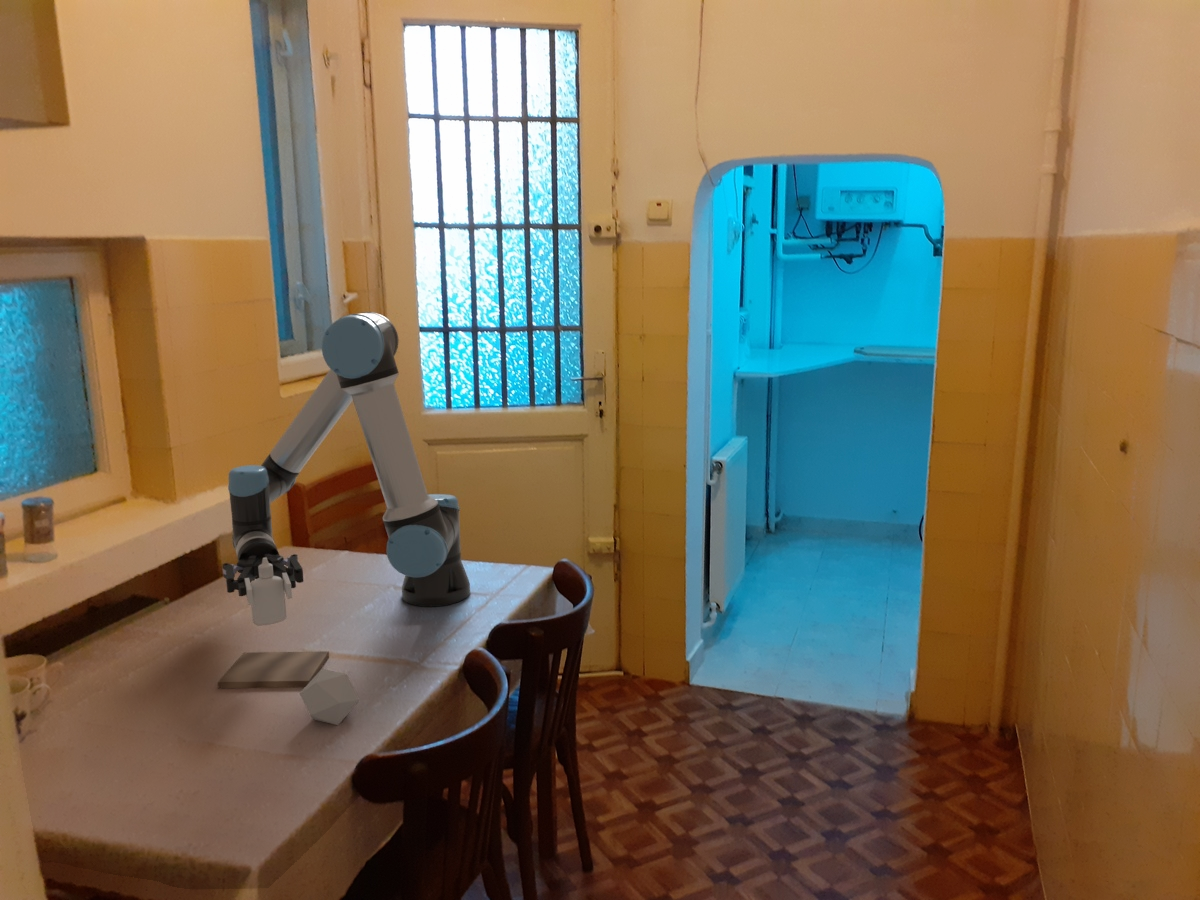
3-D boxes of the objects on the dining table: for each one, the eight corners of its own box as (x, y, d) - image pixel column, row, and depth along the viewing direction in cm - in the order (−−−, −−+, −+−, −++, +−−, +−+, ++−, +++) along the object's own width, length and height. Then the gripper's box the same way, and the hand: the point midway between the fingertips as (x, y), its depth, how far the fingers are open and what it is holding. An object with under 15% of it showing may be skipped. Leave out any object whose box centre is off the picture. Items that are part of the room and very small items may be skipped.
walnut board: (329, 657, 165) (328, 651, 165) (309, 687, 154) (308, 680, 153) (244, 658, 165) (243, 652, 165) (218, 688, 153) (217, 682, 153)
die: (370, 715, 145) (354, 660, 148) (352, 715, 137) (335, 657, 140) (324, 735, 145) (309, 679, 148) (303, 735, 136) (287, 676, 139)
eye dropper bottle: (257, 617, 159) (252, 554, 157) (289, 616, 160) (284, 553, 157) (250, 626, 155) (244, 562, 153) (282, 625, 155) (277, 561, 153)
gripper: (308, 566, 177) (326, 605, 156) (207, 580, 169) (213, 623, 148) (306, 531, 175) (324, 565, 155) (204, 543, 167) (209, 582, 147)
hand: (270, 594), depth 151 cm, fingers closed on eye dropper bottle, 6 cm apart
